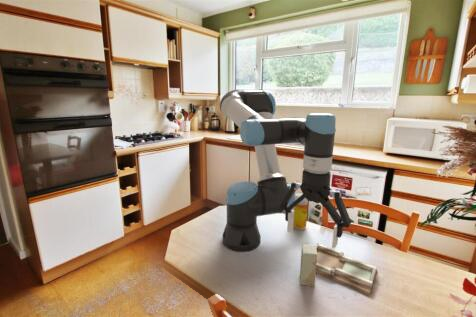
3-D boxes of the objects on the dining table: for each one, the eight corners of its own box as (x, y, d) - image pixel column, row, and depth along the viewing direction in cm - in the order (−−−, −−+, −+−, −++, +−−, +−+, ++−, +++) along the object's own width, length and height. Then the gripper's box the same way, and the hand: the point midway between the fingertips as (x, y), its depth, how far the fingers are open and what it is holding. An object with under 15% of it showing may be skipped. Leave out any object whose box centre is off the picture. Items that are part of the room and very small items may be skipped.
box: (314, 287, 75) (317, 255, 72) (300, 284, 76) (302, 253, 73) (313, 274, 80) (316, 244, 77) (299, 273, 81) (301, 243, 78)
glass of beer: (307, 230, 106) (310, 197, 102) (293, 230, 106) (295, 197, 102) (304, 223, 112) (306, 192, 108) (290, 222, 112) (292, 192, 108)
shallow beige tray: (303, 267, 84) (304, 260, 83) (317, 248, 94) (317, 242, 93) (369, 295, 72) (370, 287, 71) (376, 270, 82) (377, 263, 82)
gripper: (270, 165, 73) (268, 230, 78) (363, 182, 59) (353, 260, 64) (282, 160, 79) (279, 220, 84) (369, 174, 64) (359, 246, 70)
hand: (311, 238), depth 74 cm, fingers open, 13 cm apart
